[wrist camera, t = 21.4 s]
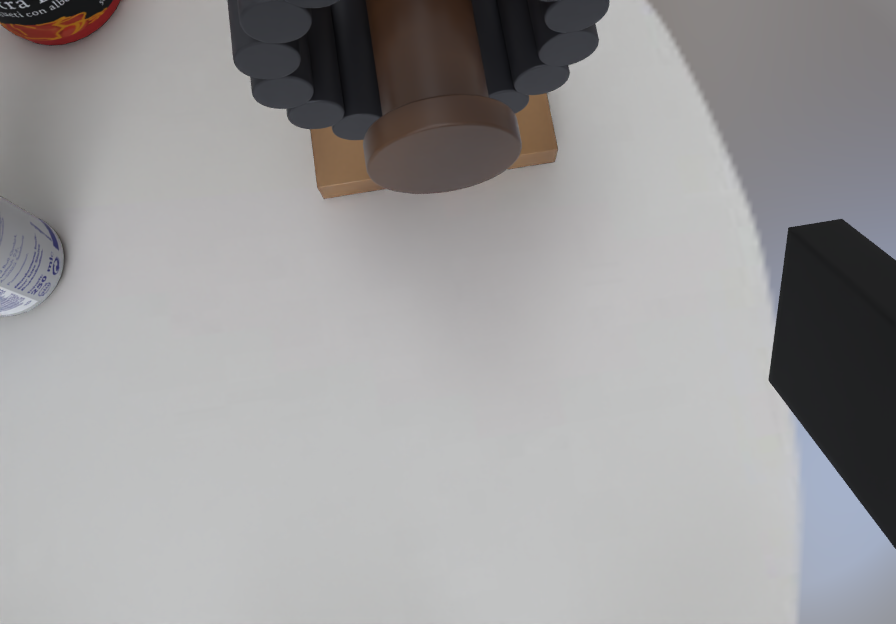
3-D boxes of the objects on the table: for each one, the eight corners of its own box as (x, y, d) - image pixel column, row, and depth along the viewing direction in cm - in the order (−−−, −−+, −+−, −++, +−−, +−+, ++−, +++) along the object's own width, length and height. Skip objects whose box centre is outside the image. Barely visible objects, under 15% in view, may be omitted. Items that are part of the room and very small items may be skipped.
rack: (339, 331, 36) (135, 119, 14) (302, 28, 39) (96, -497, 18) (581, 293, 36) (736, 23, 14) (520, -7, 39) (572, -575, 18)
